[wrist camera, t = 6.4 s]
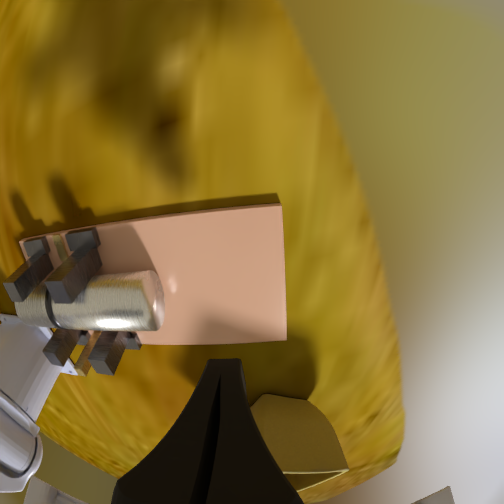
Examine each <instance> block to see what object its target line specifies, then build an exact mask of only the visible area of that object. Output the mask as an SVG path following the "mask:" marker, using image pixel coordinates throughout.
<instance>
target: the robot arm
mask: <svg viewBox="0 0 504 504" xmlns="http://www.w3.org/2000/svg"><path fill="white" fill-rule="evenodd" d="M0 320H1V322H2V323H1V325H0V492H21V491H23V488H24V487H25V485H26V483H27V481H28V480H29V478H30V477H31V479H30V482H29V486H28V490H27V493H26V497H25V500H24V504H88V503H86V502H83V501H81V500H79V499H76V498H74V497H73V496H71V495H68V494H66V493H64V492H62V491H60V490H58V489H57V488H55V487H53V486H50V485H49V484H47V483H46V482H43V481H42V480H40V479H38V478H37V477H35V476H33V474H34V473H35V472H36V471H37V469H38V468H39V466H40V463H41V460H42V455H43V448H42V442H41V438H40V436H39V434H38V432H39V429H40V428H39V427H38V426H37V425H36V424H35V422H36V420H37V418H38V416H39V414H40V411H41V409H42V407H43V405H44V403H45V401H46V399H47V397H48V395H49V393H50V391H51V389H52V387H53V385H54V383H55V381H56V379H57V377H58V375H59V373H60V372H63V373H68V374H72V375H78V374H77V372H76V371H75V370H74V365H73V363H72V362H71V360H70V359H69V358H68V360H67V362H66V364H65V365H64V367H61V366H57V365H52V364H51V363H50V362H49V360H48V359H47V357H46V356H45V355H44V353H43V352H42V350H43V349H44V347H45V346H46V344H47V343H48V341H49V340H50V338H51V337H52V335H53V333H52V331H51V330H50V328H47V327H36V326H28V325H26V324H24V323H23V322H22V321H21V320H20V318H19V317H18V316H14V315H6V314H0ZM111 504H304V503H303V501H302V499H301V498H300V496H299V495H298V493H297V491H296V490H295V489H294V487H293V486H292V485H291V483H290V482H289V481H288V479H287V478H286V476H285V475H284V473H283V472H282V470H281V469H280V467H279V466H278V464H277V463H276V461H275V459H274V458H273V456H272V454H271V452H270V451H269V449H268V447H267V445H266V443H265V441H264V439H263V437H262V435H261V433H260V431H259V429H258V427H257V424H256V422H255V420H254V417H253V415H252V412H251V409H250V406H249V404H248V400H247V395H246V383H245V378H244V373H243V368H242V363H241V360H240V359H238V358H233V359H209V360H208V361H207V364H206V367H205V369H204V371H203V374H202V376H201V378H200V380H199V382H198V384H197V386H196V388H195V390H194V392H193V394H192V396H191V398H190V399H189V401H188V403H187V405H186V406H185V408H184V409H183V411H182V413H181V414H180V416H179V417H178V419H177V420H176V422H175V423H174V425H173V426H172V427H171V429H170V430H169V431H168V433H167V434H166V435H165V436H164V437H163V439H162V440H161V441H160V442H159V443H158V445H157V446H156V447H155V448H154V449H153V450H152V451H151V452H150V453H149V454H148V455H147V456H146V457H145V458H144V459H143V460H142V461H141V462H140V463H138V464H137V465H136V466H135V467H134V468H133V469H131V470H130V471H129V472H127V473H126V474H125V475H124V476H122V477H121V478H120V479H118V480H117V483H116V486H115V488H114V492H113V496H112V501H111ZM412 504H454V500H453V496H452V492H451V489H450V486H447V487H446V488H444V489H442V490H440V491H438V492H436V493H433V494H431V495H429V496H427V497H425V498H423V499H421V500H418V501H416V502H414V503H412Z"/></svg>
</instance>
